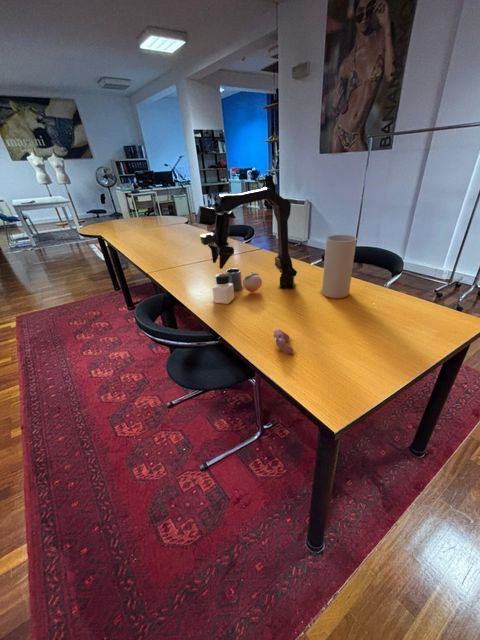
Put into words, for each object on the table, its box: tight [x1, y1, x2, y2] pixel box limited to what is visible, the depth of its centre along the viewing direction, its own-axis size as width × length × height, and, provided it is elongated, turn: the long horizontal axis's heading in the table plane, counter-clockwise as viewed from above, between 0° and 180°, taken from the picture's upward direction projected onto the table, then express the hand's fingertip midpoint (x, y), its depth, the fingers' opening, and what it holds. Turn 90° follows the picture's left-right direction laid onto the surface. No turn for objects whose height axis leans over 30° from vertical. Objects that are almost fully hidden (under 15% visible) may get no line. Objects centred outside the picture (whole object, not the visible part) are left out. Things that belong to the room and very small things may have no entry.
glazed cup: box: [225, 267, 243, 292], centre depth 145 cm, size 7×7×9 cm
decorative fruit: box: [242, 272, 263, 293], centre depth 140 cm, size 9×8×10 cm
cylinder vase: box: [321, 234, 358, 299], centre depth 132 cm, size 12×12×25 cm
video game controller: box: [272, 329, 294, 354], centre depth 99 cm, size 10×5×7 cm, turn 5°
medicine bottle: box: [212, 273, 235, 305], centre depth 132 cm, size 7×7×12 cm
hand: (217, 265), depth 129 cm, fingers open, 9 cm apart
